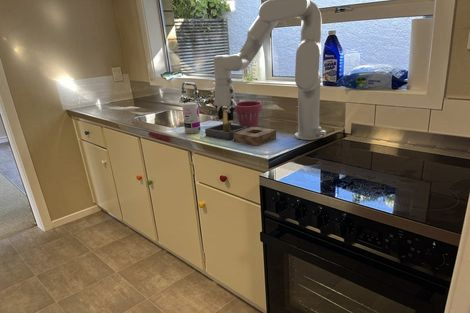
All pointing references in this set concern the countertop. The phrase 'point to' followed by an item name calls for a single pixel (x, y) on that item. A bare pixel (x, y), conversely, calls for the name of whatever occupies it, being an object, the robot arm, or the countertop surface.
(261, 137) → the wooden block with hole
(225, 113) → the brass pin
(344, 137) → the countertop surface
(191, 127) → the supplement can
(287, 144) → the countertop surface
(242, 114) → the plant pot
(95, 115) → the countertop surface
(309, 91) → the robot arm
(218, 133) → the black tray
